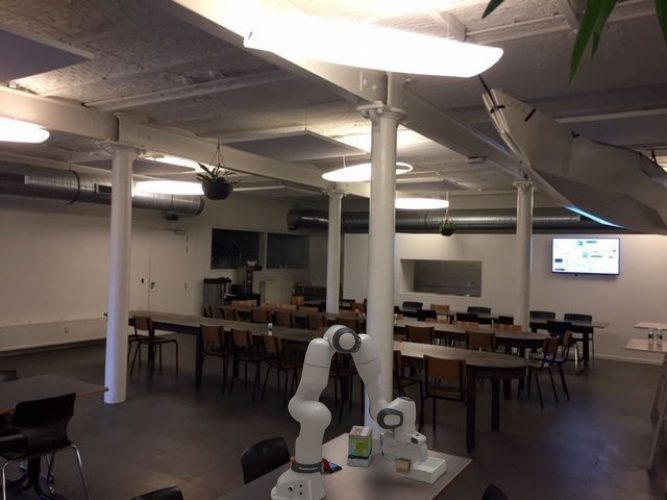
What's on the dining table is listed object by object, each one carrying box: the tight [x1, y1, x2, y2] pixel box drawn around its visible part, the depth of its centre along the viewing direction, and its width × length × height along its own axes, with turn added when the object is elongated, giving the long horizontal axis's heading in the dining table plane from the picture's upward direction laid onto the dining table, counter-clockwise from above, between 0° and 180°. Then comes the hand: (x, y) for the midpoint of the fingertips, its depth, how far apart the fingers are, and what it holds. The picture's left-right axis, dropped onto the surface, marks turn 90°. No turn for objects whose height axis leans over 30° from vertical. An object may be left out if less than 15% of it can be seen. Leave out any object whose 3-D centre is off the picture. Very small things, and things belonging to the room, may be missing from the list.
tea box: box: [347, 425, 374, 468], centre depth 251 cm, size 15×10×15 cm
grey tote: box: [403, 456, 447, 485], centre depth 235 cm, size 17×13×5 cm
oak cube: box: [395, 457, 412, 475], centre depth 224 cm, size 5×5×5 cm
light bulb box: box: [379, 431, 395, 462], centre depth 256 cm, size 11×7×11 cm, turn 25°
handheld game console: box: [322, 457, 343, 474], centre depth 241 cm, size 12×11×7 cm
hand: (404, 467), depth 224 cm, fingers closed on oak cube, 5 cm apart
